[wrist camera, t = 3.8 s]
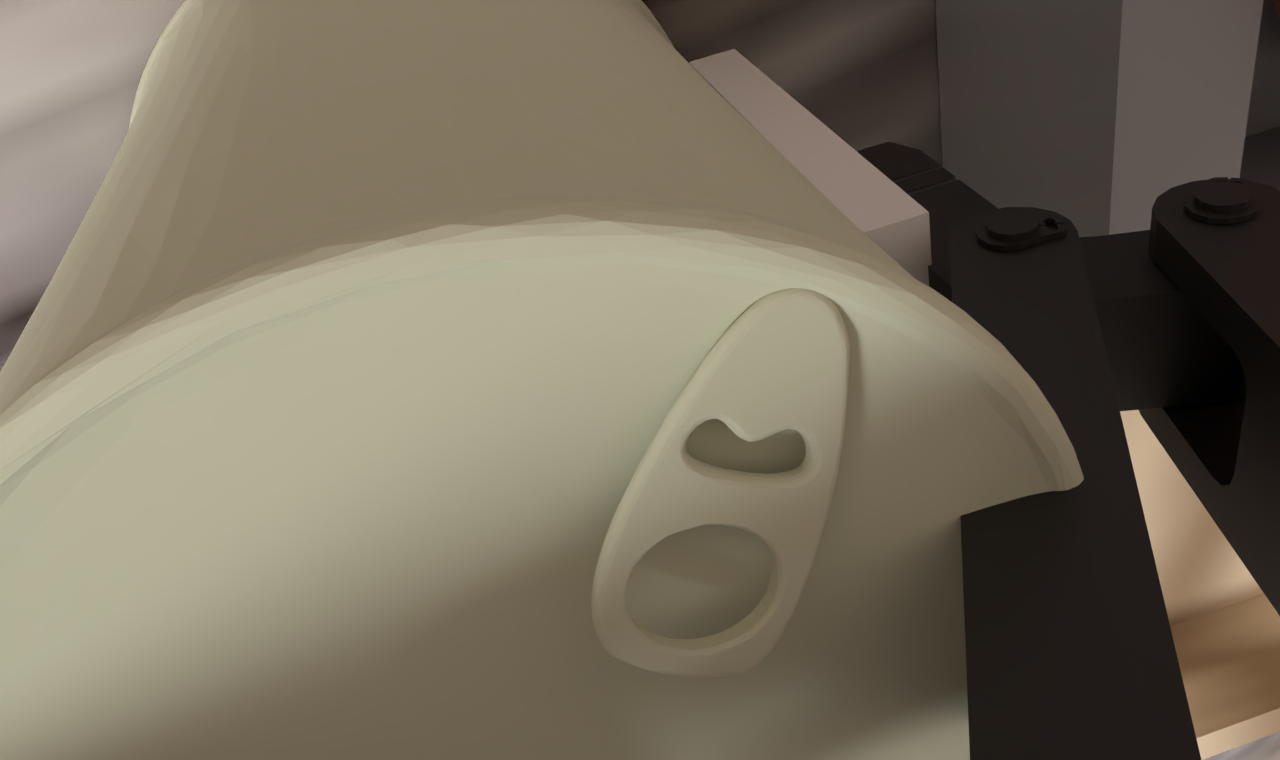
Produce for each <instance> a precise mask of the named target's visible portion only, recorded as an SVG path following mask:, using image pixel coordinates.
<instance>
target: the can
mask: <svg viewBox="0 0 1280 760" xmlns="http://www.w3.org/2000/svg"><path fill="white" fill-rule="evenodd" d="M1083 480H1084V477H1083V474H1082V471H1081V468H1080V465H1079V462H1078V459H1077V456H1076V453H1075V450H1074V447H1073V445H1072V444H1071V442H1070V440H1069V438H1068V436H1067V434H1066V432H1065V430H1064V428H1063V426H1062V424H1061V422H1060V420H1059V418H1058V416H1057V414H1056V413H1055V411H1054V410H1053V408H1052V407H1051V405H1050V404H1049V402H1048V401H1047V399H1046V398H1045V396H1044V395H1043V393H1042V392H1041V390H1040V389H1039V387H1038V386H1037V384H1036V383H1035V381H1034V380H1033V379H1032V378H1031V377H1030V376H1029V374H1028V373H1027V372H1026V371H1025V370H1024V369H1023V368H1022V366H1021V365H1020V364H1019V363H1018V362H1017V361H1016V360H1015V358H1014V357H1013V356H1012V355H1011V354H1010V353H1009V351H1008V350H1007V349H1006V348H1005V347H1004V346H1003V345H1002V343H1000V342H999V341H998V340H997V339H996V338H995V337H994V336H992V335H991V334H990V333H989V332H988V331H987V330H985V329H984V328H983V327H982V326H981V325H980V324H979V323H977V322H976V321H975V320H974V319H973V318H972V317H971V316H969V315H968V314H967V313H966V312H965V311H963V310H962V309H961V308H959V307H958V306H956V305H955V304H954V303H952V302H951V301H949V300H948V299H947V298H945V297H944V296H942V295H941V294H940V293H938V292H937V291H935V290H934V289H932V288H931V287H929V286H927V285H925V284H923V283H922V282H920V281H918V280H916V279H915V278H914V277H913V276H912V275H911V274H909V273H908V272H907V271H906V270H905V269H904V268H903V267H902V266H900V265H899V264H898V263H897V262H896V261H895V260H894V259H893V258H892V257H890V256H889V255H888V254H887V253H886V252H885V251H884V250H883V249H881V248H880V247H879V246H878V245H877V244H876V243H875V242H874V241H872V240H871V239H870V238H869V237H868V236H867V235H866V234H865V233H864V232H862V231H861V230H860V229H859V228H858V227H857V226H856V225H855V224H853V223H852V222H851V221H850V220H849V219H848V218H847V217H846V216H845V215H844V214H843V213H842V212H841V211H840V210H839V209H838V208H837V207H836V206H835V205H834V204H833V203H832V202H831V201H830V200H829V199H828V198H826V197H825V196H824V195H823V194H822V193H821V192H820V191H819V190H818V189H817V188H816V187H815V186H814V185H813V184H812V183H811V182H810V181H809V180H808V179H807V178H806V177H805V176H804V175H803V174H802V173H801V172H800V171H798V170H797V169H796V168H795V167H794V166H793V165H792V164H791V163H790V162H789V161H788V160H787V159H786V158H785V157H784V156H783V155H782V154H781V153H780V152H779V151H778V150H777V149H776V148H775V147H774V146H773V145H772V144H770V143H769V142H768V141H767V140H766V139H765V138H764V137H763V136H762V135H761V134H760V133H759V132H758V131H757V130H756V129H755V128H754V127H753V126H752V125H751V124H750V123H749V122H748V121H747V120H746V119H745V118H744V117H742V116H741V115H740V114H739V113H738V112H737V111H736V110H735V109H734V108H733V107H732V106H731V105H730V104H729V103H728V102H727V101H726V100H725V99H724V98H723V97H722V96H721V95H720V94H719V93H718V92H717V91H716V90H715V89H714V88H713V87H712V86H711V85H710V84H709V83H708V82H707V81H706V80H705V79H704V78H703V77H702V76H701V75H700V74H699V73H698V72H697V71H696V70H695V69H694V68H693V67H692V66H691V65H690V64H689V63H688V62H687V61H686V60H685V59H684V58H683V57H682V56H681V55H680V54H679V53H678V51H677V50H676V49H675V48H674V46H673V44H672V43H671V41H670V39H669V38H668V36H667V35H666V33H665V31H664V30H663V28H662V27H661V25H660V24H659V22H658V21H657V19H656V18H655V17H654V15H653V14H652V13H651V11H650V10H649V8H648V7H647V6H646V5H645V4H644V3H643V1H642V0H185V1H184V2H183V3H182V5H181V6H180V7H179V9H178V10H177V11H176V13H175V14H174V15H173V17H172V18H171V20H170V21H169V23H168V25H167V26H166V28H165V29H164V31H163V32H162V34H161V36H160V38H159V40H158V42H157V43H156V45H155V47H154V49H153V51H152V53H151V55H150V57H149V60H148V62H147V64H146V67H145V69H144V71H143V74H142V77H141V80H140V83H139V86H138V89H137V92H136V96H135V100H134V105H133V109H132V114H131V118H130V126H129V130H128V132H127V134H126V136H125V138H124V140H123V142H122V144H121V147H120V149H119V151H118V153H117V155H116V157H115V159H114V161H113V163H112V165H111V167H110V169H109V171H108V173H107V175H106V177H105V179H104V180H103V182H102V184H101V186H100V188H99V190H98V192H97V194H96V196H95V198H94V200H93V201H92V203H91V205H90V207H89V209H88V211H87V213H86V215H85V217H84V219H83V221H82V222H81V224H80V226H79V228H78V230H77V232H76V234H75V236H74V238H73V240H72V241H71V243H70V245H69V247H68V249H67V251H66V253H65V255H64V257H63V259H62V261H61V262H60V264H59V266H58V268H57V270H56V272H55V274H54V276H53V278H52V280H51V282H50V283H49V285H48V287H47V289H46V291H45V292H44V294H43V296H42V298H41V300H40V301H39V303H38V305H37V307H36V309H35V311H34V312H33V314H32V316H31V318H30V320H29V321H28V323H27V325H26V327H25V329H24V330H23V332H22V334H21V336H20V338H19V339H18V341H17V343H16V345H15V347H14V348H13V350H12V352H11V354H10V356H9V357H8V359H7V361H6V363H5V365H4V366H3V368H2V370H1V372H0V760H970V747H969V722H968V696H967V671H966V645H965V620H964V595H963V569H962V544H961V518H960V516H961V515H964V514H968V513H971V512H974V511H977V510H980V509H983V508H987V507H990V506H993V505H997V504H1000V503H1004V502H1007V501H1011V500H1014V499H1018V498H1021V497H1025V496H1029V495H1033V494H1038V493H1043V492H1049V491H1064V490H1065V491H1066V490H1069V489H1071V488H1074V487H1076V486H1078V485H1079V484H1080V483H1081V482H1082V481H1083Z"/></svg>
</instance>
